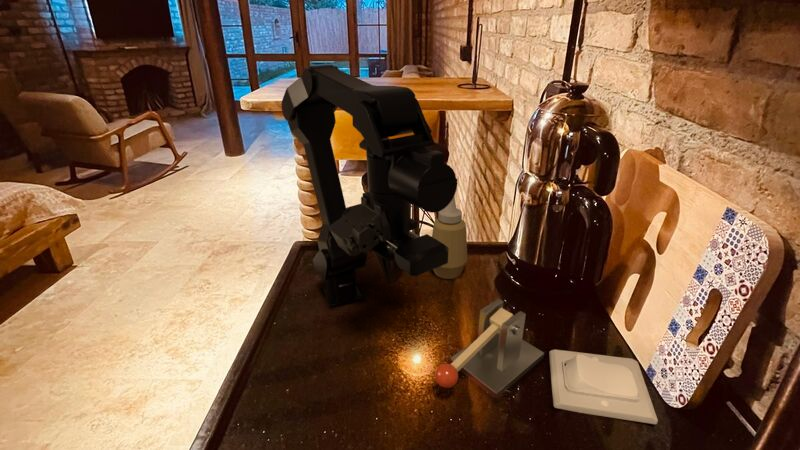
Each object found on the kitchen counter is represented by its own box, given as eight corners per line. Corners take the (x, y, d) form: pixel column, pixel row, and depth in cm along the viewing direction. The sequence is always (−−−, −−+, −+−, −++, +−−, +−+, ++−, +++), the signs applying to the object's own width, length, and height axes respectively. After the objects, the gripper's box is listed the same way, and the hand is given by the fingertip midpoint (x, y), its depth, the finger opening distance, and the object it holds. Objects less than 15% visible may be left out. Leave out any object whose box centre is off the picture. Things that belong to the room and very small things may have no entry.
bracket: (495, 399, 58) (502, 347, 53) (449, 364, 64) (452, 314, 60) (543, 359, 65) (552, 309, 60) (497, 330, 71) (503, 283, 66)
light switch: (550, 336, 64) (641, 346, 61) (548, 356, 66) (636, 367, 63) (555, 390, 55) (663, 406, 52) (553, 412, 57) (656, 428, 53)
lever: (448, 397, 55) (445, 383, 53) (431, 383, 57) (428, 369, 55) (516, 328, 61) (516, 314, 59) (499, 317, 63) (498, 303, 62)
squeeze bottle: (469, 282, 84) (474, 202, 76) (429, 283, 84) (431, 203, 76) (464, 262, 91) (468, 187, 83) (427, 262, 91) (429, 187, 83)
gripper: (305, 180, 57) (316, 273, 64) (375, 228, 43) (380, 340, 50) (372, 165, 63) (376, 252, 70) (453, 203, 49) (448, 307, 56)
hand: (392, 283), depth 61 cm, fingers closed
